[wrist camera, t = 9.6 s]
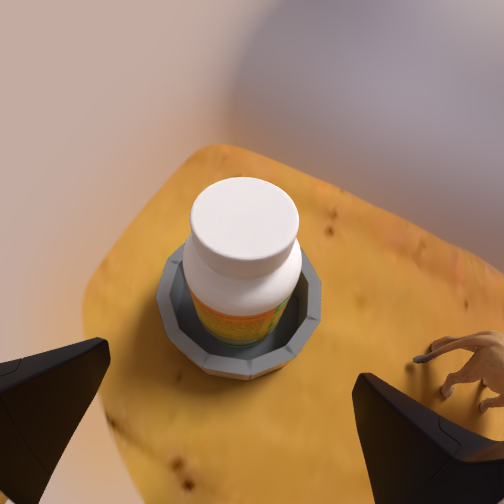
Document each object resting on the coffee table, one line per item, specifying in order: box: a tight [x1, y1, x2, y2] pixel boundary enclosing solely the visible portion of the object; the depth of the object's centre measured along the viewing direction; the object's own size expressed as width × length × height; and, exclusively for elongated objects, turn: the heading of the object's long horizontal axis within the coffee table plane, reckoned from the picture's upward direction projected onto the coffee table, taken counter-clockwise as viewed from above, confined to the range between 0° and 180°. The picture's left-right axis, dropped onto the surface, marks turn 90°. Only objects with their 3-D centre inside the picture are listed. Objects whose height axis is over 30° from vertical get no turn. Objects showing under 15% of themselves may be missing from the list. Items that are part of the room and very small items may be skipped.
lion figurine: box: [413, 330, 504, 413], centre depth 11 cm, size 15×5×9 cm, turn 66°
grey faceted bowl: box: [156, 242, 321, 381], centre depth 17 cm, size 10×10×3 cm
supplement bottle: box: [183, 177, 302, 348], centre depth 14 cm, size 5×5×10 cm
